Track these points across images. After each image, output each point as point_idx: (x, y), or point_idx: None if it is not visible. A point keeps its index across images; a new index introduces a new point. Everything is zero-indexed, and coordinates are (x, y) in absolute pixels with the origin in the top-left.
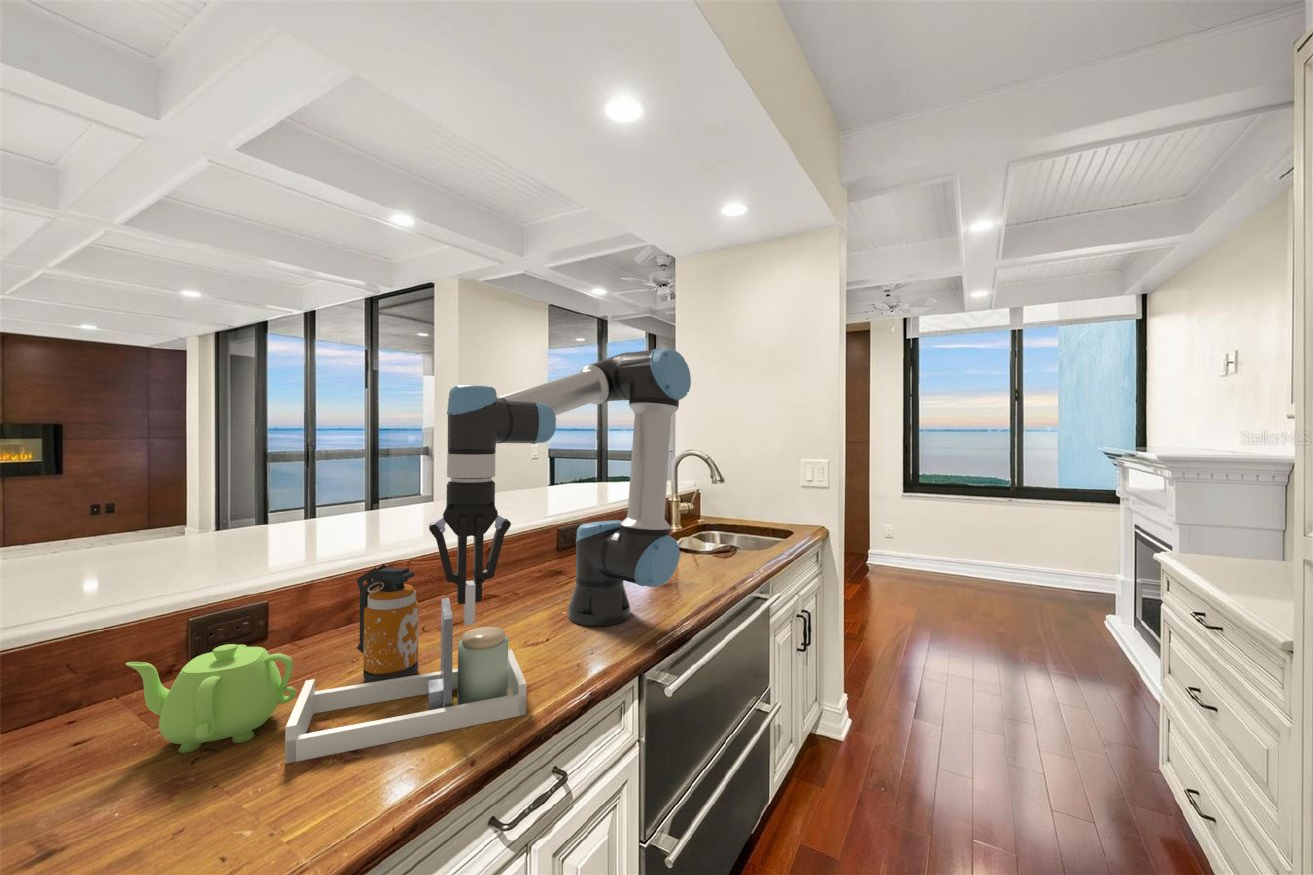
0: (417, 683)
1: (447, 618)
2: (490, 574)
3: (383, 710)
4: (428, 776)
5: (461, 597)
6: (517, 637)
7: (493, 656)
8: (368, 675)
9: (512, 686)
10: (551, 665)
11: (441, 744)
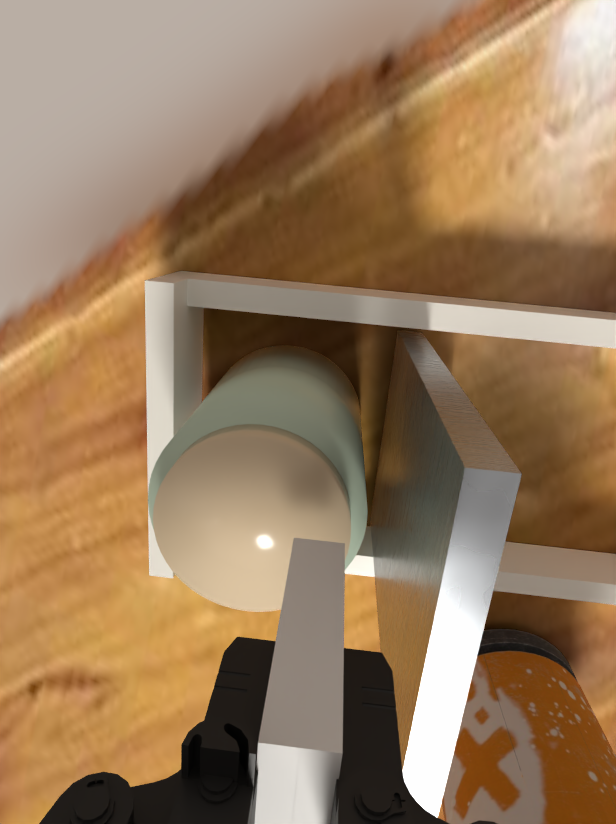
0: None
1: (498, 482)
2: (88, 812)
3: (553, 498)
4: (519, 58)
5: (366, 691)
6: (118, 739)
7: (236, 398)
8: (572, 674)
9: (191, 398)
10: (50, 531)
11: (447, 225)
